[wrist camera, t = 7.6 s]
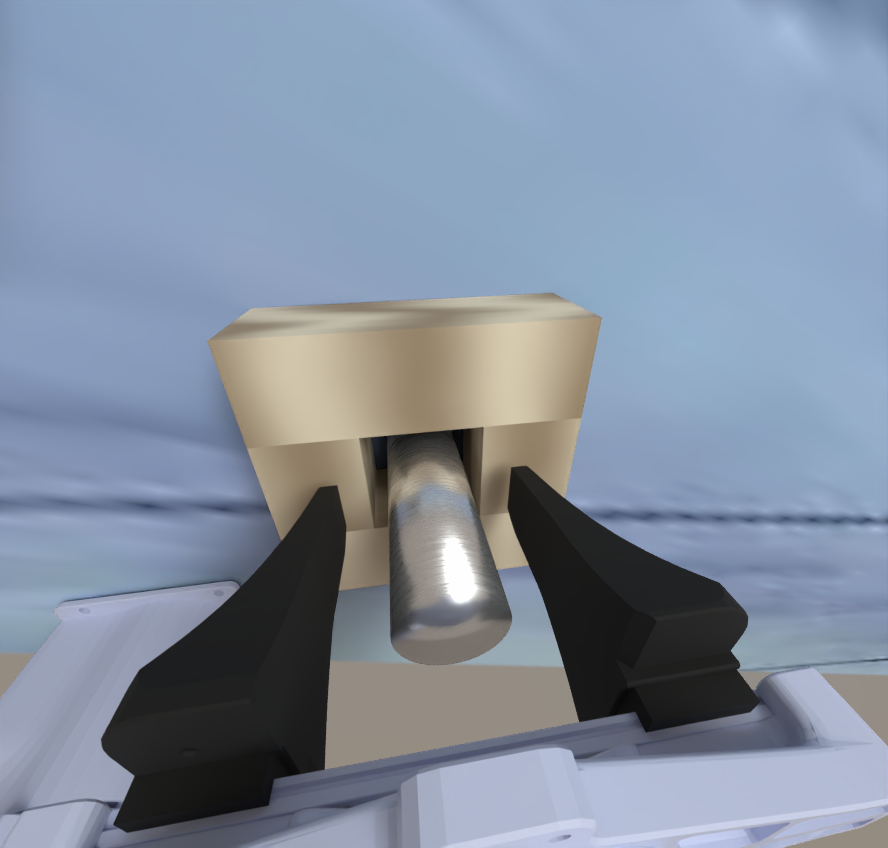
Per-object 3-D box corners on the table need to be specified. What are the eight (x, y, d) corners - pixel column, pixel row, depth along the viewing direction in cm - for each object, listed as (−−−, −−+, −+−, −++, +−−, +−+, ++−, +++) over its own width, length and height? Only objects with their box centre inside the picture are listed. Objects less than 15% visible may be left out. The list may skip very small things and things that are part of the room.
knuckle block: (315, 529, 20) (301, 595, 16) (252, 308, 14) (207, 341, 10) (525, 505, 21) (551, 562, 18) (552, 292, 15) (601, 317, 12)
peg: (391, 458, 18) (399, 674, 9) (382, 405, 17) (380, 603, 8) (450, 449, 18) (511, 651, 10) (446, 396, 17) (512, 579, 8)
